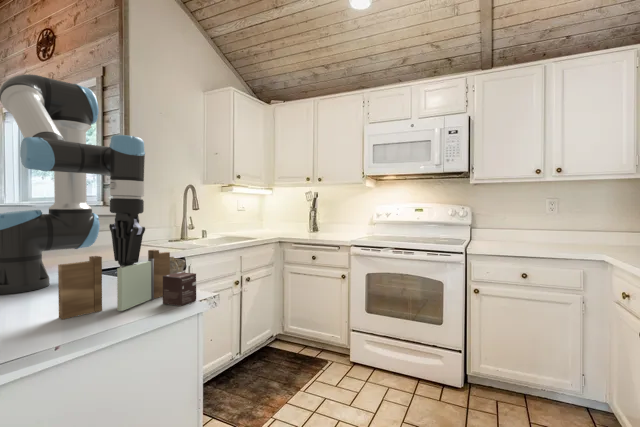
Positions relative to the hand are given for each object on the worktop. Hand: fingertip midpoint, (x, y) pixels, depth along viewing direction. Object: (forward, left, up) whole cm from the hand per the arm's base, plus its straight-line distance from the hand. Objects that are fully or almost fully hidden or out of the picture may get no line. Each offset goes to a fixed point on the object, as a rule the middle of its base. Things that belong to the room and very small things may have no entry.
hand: (125, 289), depth 88 cm
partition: (0, -1, -4) cm, 4 cm away
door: (+4, +1, -4) cm, 5 cm away
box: (+10, +9, -4) cm, 14 cm away
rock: (-17, +22, -4) cm, 28 cm away
